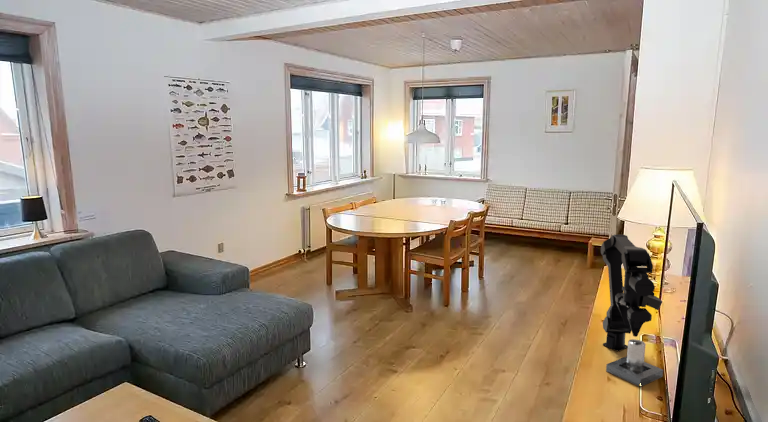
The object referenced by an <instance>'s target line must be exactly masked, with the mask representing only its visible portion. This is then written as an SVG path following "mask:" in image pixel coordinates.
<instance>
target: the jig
mask: <svg viewBox="0 0 768 422" xmlns="http://www.w3.org/2000/svg"><path fill="white" fill-rule="evenodd" d="M626 363H627V355H626V356H624V357H621V358H619V359H616V360H613V361H611V362H609V363H606V367H605V368H606V369H605V371H606V372H607V373H609V374H612V375H613V376H615V377H618V378H620V379H622V380H624V381H626V382H628V383H631V384H633V385H635V386H636V387H639V384H640V383H641V385H642V386H641V387H644V386H645V385H648V384H650V383H652V382H654V381H655V382H656V380H657V381H658V380H659V379H661V378H663V377H664V369H662V368H660V367H659V366H656V365H653V364H651V363H648V362H646V361H644V367H643V372H642V373H640V374H636V373H634V372H632V371H630V370H627V369H626Z"/></svg>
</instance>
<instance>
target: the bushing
mask: <svg viewBox="0 0 768 422" xmlns="http://www.w3.org/2000/svg"><path fill="white" fill-rule="evenodd" d="M627 346H628V348H627V354H626V356H627V363H626V369H627V370H630V371H632V372H634V373H636V374H640V373H642V372H643V367H644V362H645V354H646V343H645V341H643V340H640V339H633V338H632V339H629V340H628V343H627Z"/></svg>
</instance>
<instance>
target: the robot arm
mask: <svg viewBox="0 0 768 422" xmlns="http://www.w3.org/2000/svg"><path fill="white" fill-rule="evenodd" d="M600 254H601V256H602V260H603V262H604V263H605V265H607V269H608V285H609V287H608V288H609V301H610V305H609V307H608V309H607V311H606V316H605V318H604V319H603V321H602V329H603V330H604V332H605V333H606V342H604V343H602V346H604V347H606V348H609V349H611V350H613V351H616V352H620V351H622V350H626V349H628V344H626V334H629V335H630V334H631V333H632V336H633V337H635V338H636V337H638V335H639V333H640V331H641V329H642V326H644V325H643V324H644V323H649V322H651V321H652V317H653V314H652V313H650V312H649V310H648V309H647V307H650V308H653V309H654V310H656V311H659V310H660V308H661V306H662V304H663V301H662V299H661V298H659V297H657V295H655V292H654V291H655V289H656V286H655V284H654V282H653V280H651V279H650V278H649V274H653V269H654V266H653V261H652V259H651V258H652V257H651V256H650V252H648V250H647V249H645V248H643V247H641V246H640V247H638V246H636V245H634V243H633V242H631V240H630V239H629V237H628V235H626V234H613V235H611V237H610V238H608V239H606V240H604V241H603V242H602V244H601V247H600ZM622 266H623V269H622ZM623 270H624V279H623ZM623 283H624V284H623Z"/></svg>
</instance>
